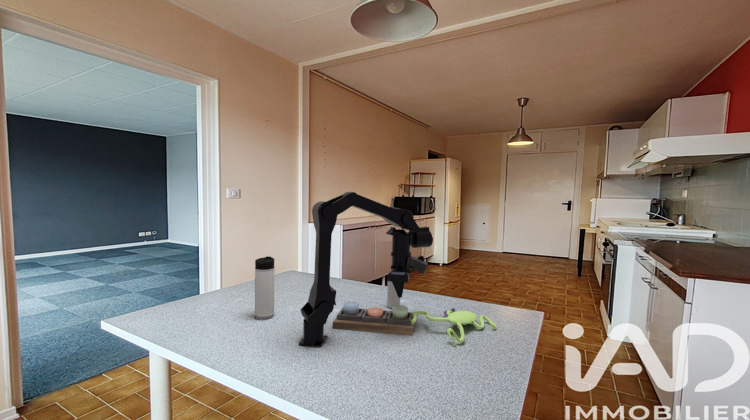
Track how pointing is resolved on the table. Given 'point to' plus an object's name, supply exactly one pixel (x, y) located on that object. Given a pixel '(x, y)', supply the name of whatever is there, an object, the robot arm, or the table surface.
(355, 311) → the blue-grey flat rounded piece
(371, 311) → the terracotta button
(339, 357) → the table surface
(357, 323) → the button panel
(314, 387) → the table surface
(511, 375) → the table surface
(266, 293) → the travel mug
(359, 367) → the table surface
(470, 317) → the figurine
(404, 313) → the sage button
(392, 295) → the beverage can
